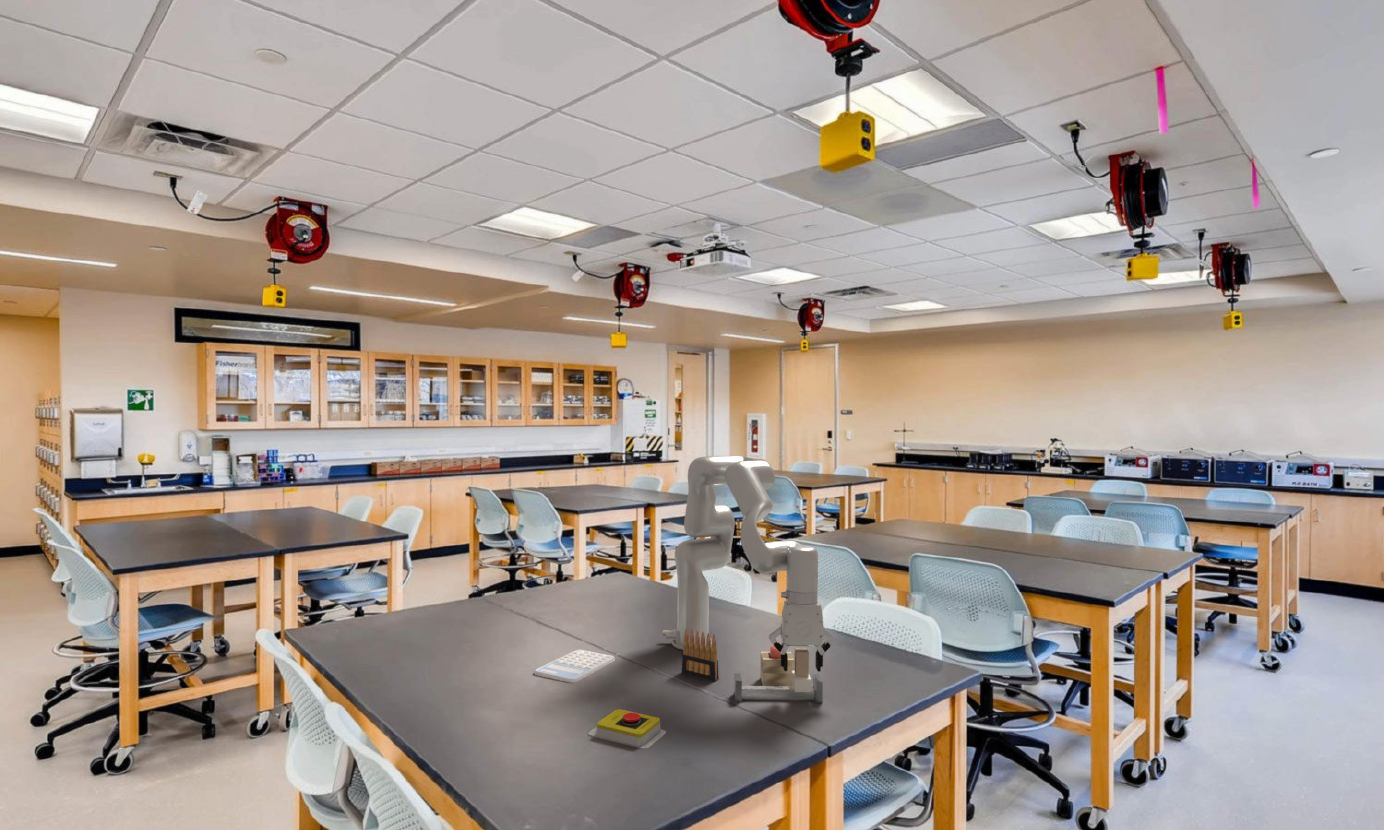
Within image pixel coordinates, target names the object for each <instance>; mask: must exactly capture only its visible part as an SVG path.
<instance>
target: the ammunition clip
mask: <svg viewBox="0 0 1384 830" xmlns="http://www.w3.org/2000/svg"><path fill="white" fill-rule="evenodd" d="M711 639H712V647H711ZM717 648H718V647H717V638H716V634H715V633H714V634H713V635H712V637H711V635H710V632H709V633H708V635H707V639H706V646H705V635H704V632H702V635H701V645H700V636H699V632H698V631H697V632H696V637H695V643H694V632H693V630H691V633H690V643H689V634H688V630H687V628H686V630H685V635H684V644H683V650H682V651H683V653H682V655H681V674H682V675H687V676H691V677H694V678H698V679H702V680H706V681H710V682H713V683H715V682H717V681H718V680H720V679H719V660H718V649H717Z"/></svg>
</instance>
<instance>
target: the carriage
mask: <svg viewBox="0 0 1384 830" xmlns="http://www.w3.org/2000/svg"><path fill="white" fill-rule="evenodd" d="M809 662H810V652H809V650H808V648H806V647H805V648H803V647H802V648H798V647H796V648H794V671H792V685H793V688H794V691H795V692H812V687H813V678H811V677H812V676H811V675H810V673H809V672H810V671H809V670H810V666H809V665H810V663H809Z"/></svg>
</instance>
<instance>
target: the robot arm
mask: <svg viewBox="0 0 1384 830" xmlns="http://www.w3.org/2000/svg"><path fill="white" fill-rule="evenodd" d="M775 478H776V475H775V471H774V468H773V467H772V466H771V464H769V463H768V462H767V461H765V460H762V459H758V458H753V457H749V456H744V455H708V456H707V455H706V456H699V457H697V458H694V459H693V460H692V461H691V462H690V464H689V466H688V470H687V485H688V487H687V488H688V489H687V491H688V492H687V493H688V495H687V498H686V499H687V500H686V505H685V506H686V507H685V513H684V521H683V522H684V523H683V527H684V529H683V530H684V532H685V533H686V535H687V536H688V537H691V538H696V539H689V540H684V541H682V542H680V543H679V544H678V545H677V546H676V547H675V550H674V562H675V569H676V576H677V577H676V579H677V610H676V611H677V612H676V613H677V615H676V616H677V617H676V618H677V623H676V624H677V625H676V629H675V628H674V629H672V630H668V629H663V630H662V637H663V638H665V639H672V640H671V645H672V647H674V648H676V649H678V650H682V651H683V644H684V635H685V630H686V628H687V630H688V634H689V643H690V633H691V630H693V632H694V643H695V637H696V632H697V631H698V632H699V636H700V645H701V635H702V632H704V635H705V646H706V639H707V635H708V633H709V634H710V630H709V627H710V625H709V623H710V621H709V620H710V618H709V617H710V616H709V615H710V611H709V610H710V602H709V601H710V587H709V586H710V585H709V583H708V581H707V579H706V577H705V576H704V573H703V572H704V571H711V570H717V569H722V568H724V567H725V566H727V564H728V563H729V561H730V557H731V552H732V545H733V539H734V532H735V523H736V522H735V515H734V513H733V510H732V509H731V508H730V507H729V506H727V505H726V504H721V503H720V504H719V503H717V504H716V502H717V491H716V489H715V486H728V488H729V490H730V493H731V494H732V496H733V498H734V500H735V503H736V505H737V507H738V509H739V510H740V512H741V514H742V516H743V519H742V522H741V525H740V543H741V546H742V549H743V552H744V553H745V556H746V558H747V559H748V561H749V563H750V565H751V566H752V567H753V569H754V570H755V571H757V572H758V573H759V574H760V573H761V574H770V573H779V572H786V589H785V591H780V598H782V599H785V600H784V602H783V606H782V612H781V622H780V626H778V628H776V629H775V630H773V631H772V632H771V633H770V634H768V635H767V638H768V639H769V642H771V644H772V646H775V648H776V649H777V650H778V651H779V652H780V653H781V666H782V667H783V668H784V671H788V655H787V653H786V652H788V650H789V648H790V647H816V652H815V669H816V671H817V672H819V673H820V672H822V671H821V668H824V655H825V653H826V652H827V651H828V650H829V649H830V648H831V646H832V645H833V643H834V642H835V641H836V640H837V639H836V637H835V634H832V633H831V632H830V631H829V630H828V629H826V628H825V627H824V626H825V625H824V615H823V608H822V604H821V602H819V601H818V596H819V595H818V593H819V592H818V591H819V590H818V587H819V586H818V585H819V583H818V582H819V578H818V577H819V576H818V575H819V571H818V570H819V569H818V568H819V551H818V550H817V548H815V547H813V546H811V545H805V544H804V545H803V544H802V543H799V542H797V541H795V540H788V539H787V540H777V541H769V542H767V541H766V542H765V541H764V540H763V538H762V537H761V535H760V533H759V530H758V522H760V521H761V520H763V519H765V517H767V516H768V515H769V514H770V513H771V511H772V509H773V506H774V505H773V502H772V500H771V497H770V496H769V494H768V493H767V490H770V488H772V487H773V485H774V484H775V481H776V479H775ZM779 636H780V638H781V641H782V642H781V644H780V642H779V641H778V640H777V637H779ZM825 637H826V638H827V639H826V641H825ZM711 648H712V638H711Z"/></svg>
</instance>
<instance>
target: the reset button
mask: <svg viewBox="0 0 1384 830" xmlns="http://www.w3.org/2000/svg"><path fill="white" fill-rule="evenodd" d="M769 652H770V658H771V659H781V653H780V652H779V651H778V650H777V649H776V648H775V646H774V645H772V646H770V648H769Z"/></svg>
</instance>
